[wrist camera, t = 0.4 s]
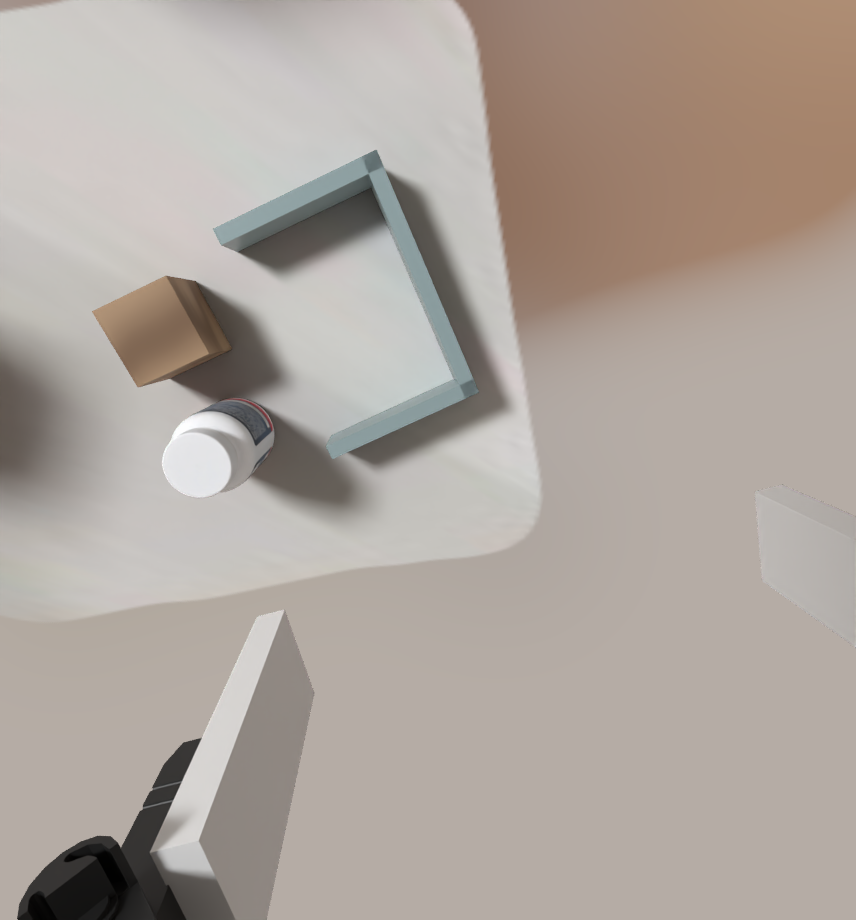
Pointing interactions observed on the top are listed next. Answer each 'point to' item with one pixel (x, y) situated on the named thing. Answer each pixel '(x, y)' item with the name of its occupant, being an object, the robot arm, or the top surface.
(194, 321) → the tan block
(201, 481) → the pill bottle
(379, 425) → the box
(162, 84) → the top surface
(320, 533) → the top surface
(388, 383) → the top surface
